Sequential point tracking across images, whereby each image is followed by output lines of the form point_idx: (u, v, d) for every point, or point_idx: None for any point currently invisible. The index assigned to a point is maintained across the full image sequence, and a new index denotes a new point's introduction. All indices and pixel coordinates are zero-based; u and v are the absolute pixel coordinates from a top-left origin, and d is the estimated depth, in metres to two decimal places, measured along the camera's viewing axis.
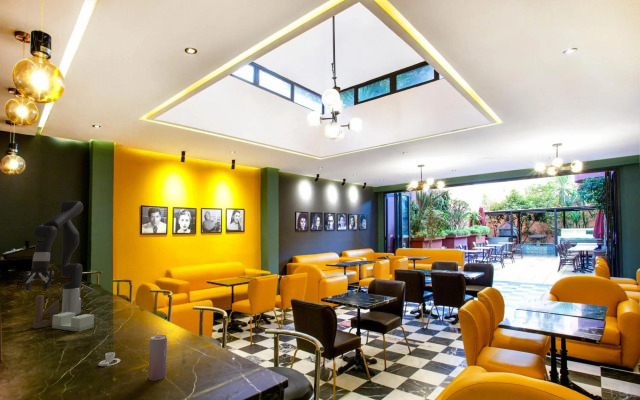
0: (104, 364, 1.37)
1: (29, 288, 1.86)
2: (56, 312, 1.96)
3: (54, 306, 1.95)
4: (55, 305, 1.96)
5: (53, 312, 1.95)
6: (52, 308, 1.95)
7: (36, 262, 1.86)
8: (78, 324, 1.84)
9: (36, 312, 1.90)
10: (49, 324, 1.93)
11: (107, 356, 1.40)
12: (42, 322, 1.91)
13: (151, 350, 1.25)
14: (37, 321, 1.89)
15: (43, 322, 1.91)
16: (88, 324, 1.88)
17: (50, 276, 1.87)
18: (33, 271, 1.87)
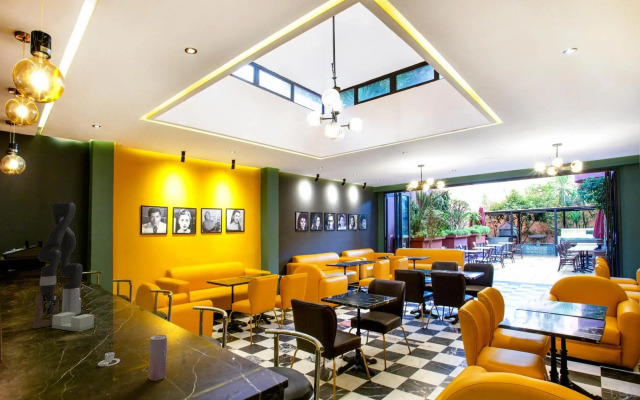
0: (103, 364, 1.37)
1: (43, 311, 1.95)
2: (56, 312, 1.96)
3: (54, 306, 1.96)
4: (55, 305, 1.96)
5: (53, 312, 1.95)
6: (52, 308, 1.95)
7: (40, 286, 1.92)
8: (78, 324, 1.84)
9: (36, 312, 1.90)
10: (49, 324, 1.93)
11: (107, 356, 1.40)
12: (42, 322, 1.91)
13: (151, 350, 1.25)
14: (37, 321, 1.90)
15: (43, 322, 1.91)
16: (88, 324, 1.88)
17: (51, 302, 1.92)
18: (42, 294, 1.95)
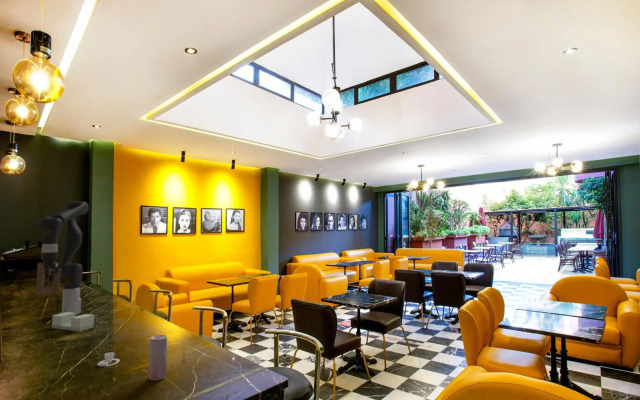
0: (103, 364, 1.37)
1: (45, 278, 1.96)
2: (58, 279, 1.98)
3: (56, 273, 1.97)
4: (57, 273, 1.97)
5: (55, 279, 1.97)
6: (54, 275, 1.96)
7: (42, 253, 1.93)
8: (78, 324, 1.84)
9: (38, 278, 1.91)
10: (51, 291, 1.95)
11: (106, 356, 1.40)
12: (44, 289, 1.93)
13: (151, 350, 1.25)
14: (39, 287, 1.91)
15: (45, 289, 1.93)
16: (88, 324, 1.88)
17: (53, 269, 1.93)
18: (44, 261, 1.96)
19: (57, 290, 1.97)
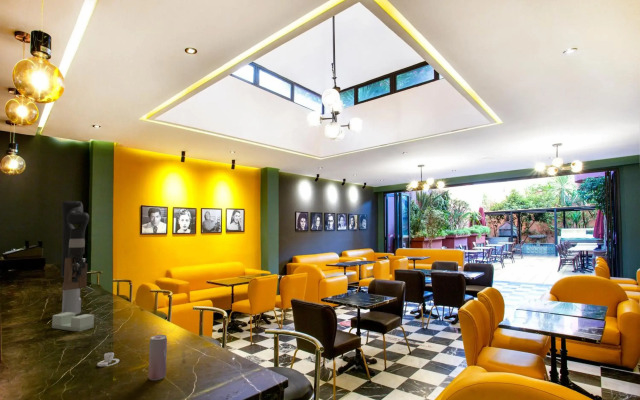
0: (103, 364, 1.36)
1: (72, 274, 1.93)
2: (85, 275, 1.95)
3: (83, 269, 1.94)
4: (84, 268, 1.95)
5: (82, 275, 1.94)
6: (81, 271, 1.94)
7: (70, 248, 1.90)
8: (78, 324, 1.84)
9: (66, 274, 1.89)
10: (78, 286, 1.92)
11: (106, 356, 1.40)
12: (71, 284, 1.90)
13: (151, 350, 1.25)
14: (67, 283, 1.88)
15: (72, 284, 1.90)
16: (88, 324, 1.88)
17: (80, 264, 1.90)
18: (71, 256, 1.93)
19: (84, 286, 1.94)
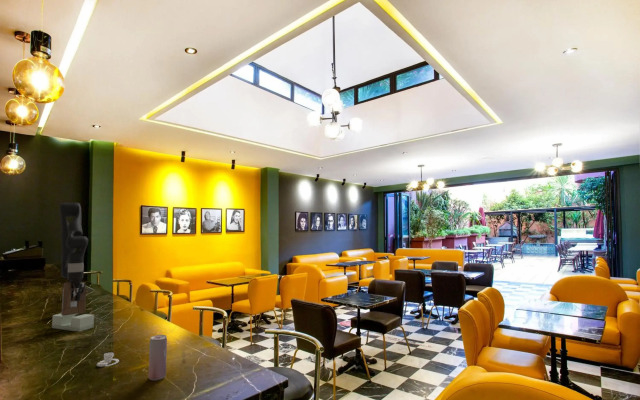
0: (102, 364, 1.36)
1: (71, 298, 1.92)
2: (84, 299, 1.94)
3: (82, 293, 1.93)
4: (83, 292, 1.94)
5: (81, 299, 1.93)
6: (80, 295, 1.93)
7: (68, 273, 1.89)
8: (78, 324, 1.84)
9: (65, 299, 1.88)
10: (77, 311, 1.91)
11: (105, 356, 1.40)
12: (70, 309, 1.89)
13: (151, 350, 1.25)
14: (65, 308, 1.87)
15: (71, 309, 1.89)
16: (88, 324, 1.88)
17: (79, 289, 1.89)
18: (69, 281, 1.92)
19: (83, 310, 1.93)
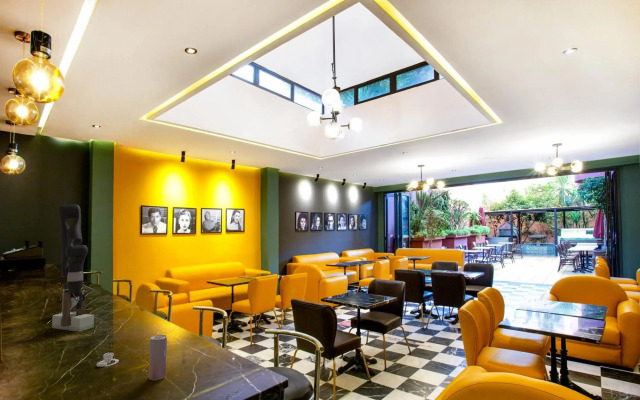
0: (102, 365, 1.36)
1: None
2: (83, 309, 1.94)
3: None
4: (82, 302, 1.93)
5: (80, 309, 1.93)
6: None
7: (68, 282, 1.89)
8: (78, 324, 1.84)
9: (64, 309, 1.87)
10: None
11: (105, 356, 1.40)
12: (70, 320, 1.88)
13: (151, 350, 1.25)
14: (65, 319, 1.87)
15: None
16: (88, 324, 1.88)
17: (80, 297, 1.89)
18: (69, 290, 1.92)
19: None
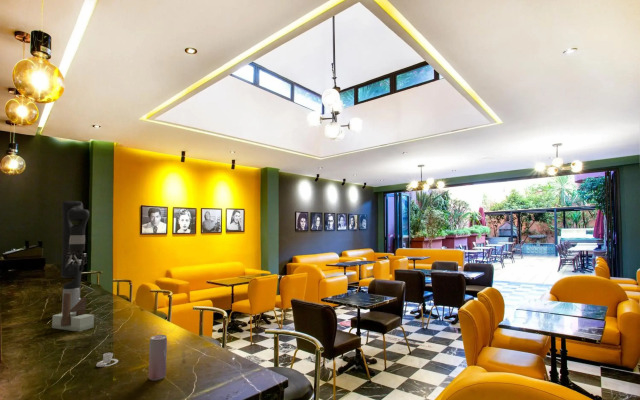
0: (101, 365, 1.36)
1: (71, 269, 1.94)
2: (83, 309, 1.94)
3: (81, 303, 1.93)
4: (82, 302, 1.93)
5: (80, 309, 1.93)
6: (79, 305, 1.92)
7: (70, 245, 1.91)
8: (78, 324, 1.84)
9: (64, 309, 1.87)
10: None
11: (105, 357, 1.40)
12: (70, 320, 1.88)
13: (151, 350, 1.25)
14: (65, 319, 1.87)
15: None
16: (88, 324, 1.88)
17: (82, 259, 1.90)
18: (71, 253, 1.93)
19: None
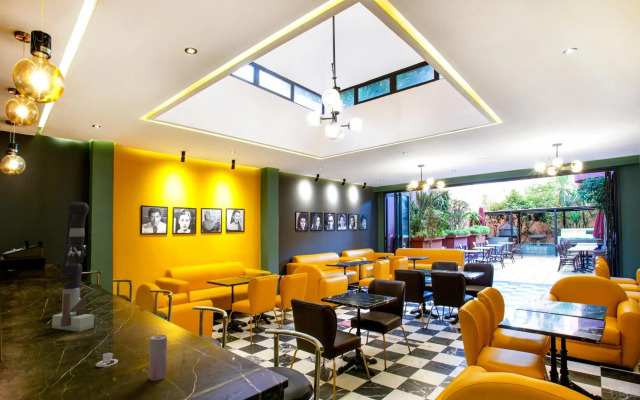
0: (101, 365, 1.36)
1: (71, 260, 2.03)
2: (83, 309, 1.94)
3: (81, 303, 1.93)
4: (82, 302, 1.93)
5: (80, 309, 1.93)
6: (79, 305, 1.92)
7: (70, 237, 1.99)
8: (78, 324, 1.84)
9: (64, 309, 1.87)
10: None
11: (104, 357, 1.39)
12: (70, 320, 1.88)
13: (151, 350, 1.25)
14: (65, 319, 1.87)
15: None
16: (88, 324, 1.88)
17: (81, 250, 1.99)
18: (71, 245, 2.02)
19: None
